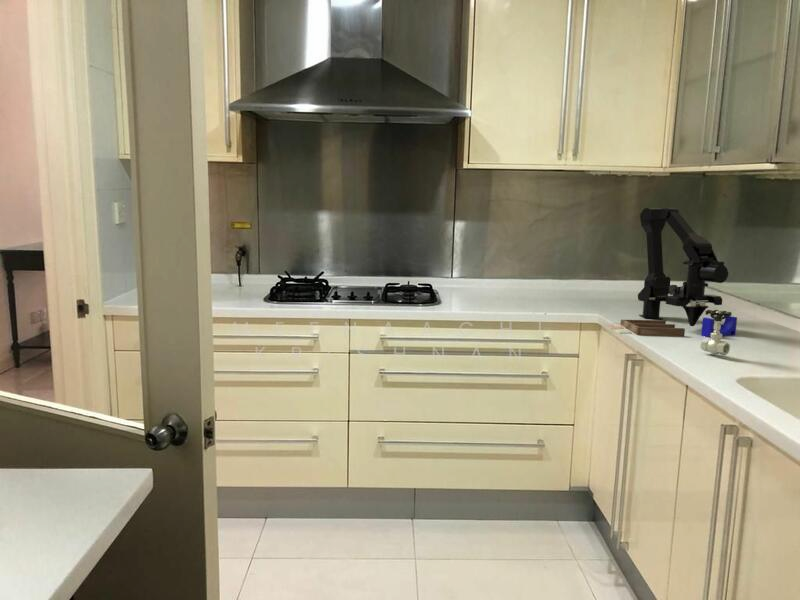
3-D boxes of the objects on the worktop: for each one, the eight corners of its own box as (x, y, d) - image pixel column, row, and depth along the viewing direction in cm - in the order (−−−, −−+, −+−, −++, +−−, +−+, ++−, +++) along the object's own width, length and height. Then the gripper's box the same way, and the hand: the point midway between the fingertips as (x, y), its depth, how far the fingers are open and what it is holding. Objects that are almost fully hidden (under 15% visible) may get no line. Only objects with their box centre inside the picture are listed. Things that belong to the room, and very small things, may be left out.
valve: (710, 350, 187) (714, 309, 185) (732, 355, 181) (737, 312, 179) (696, 352, 183) (700, 310, 182) (718, 357, 178) (722, 314, 176)
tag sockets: (605, 326, 220) (606, 319, 220) (664, 327, 221) (664, 320, 221) (621, 335, 205) (622, 327, 205) (684, 336, 206) (684, 328, 206)
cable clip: (723, 333, 215) (725, 315, 214) (735, 335, 211) (737, 317, 210) (697, 335, 209) (698, 316, 209) (709, 338, 205) (710, 319, 205)
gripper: (700, 276, 225) (695, 320, 228) (656, 277, 219) (652, 322, 221) (725, 280, 215) (721, 326, 217) (680, 280, 209) (676, 328, 211)
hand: (691, 326), depth 217 cm, fingers closed
